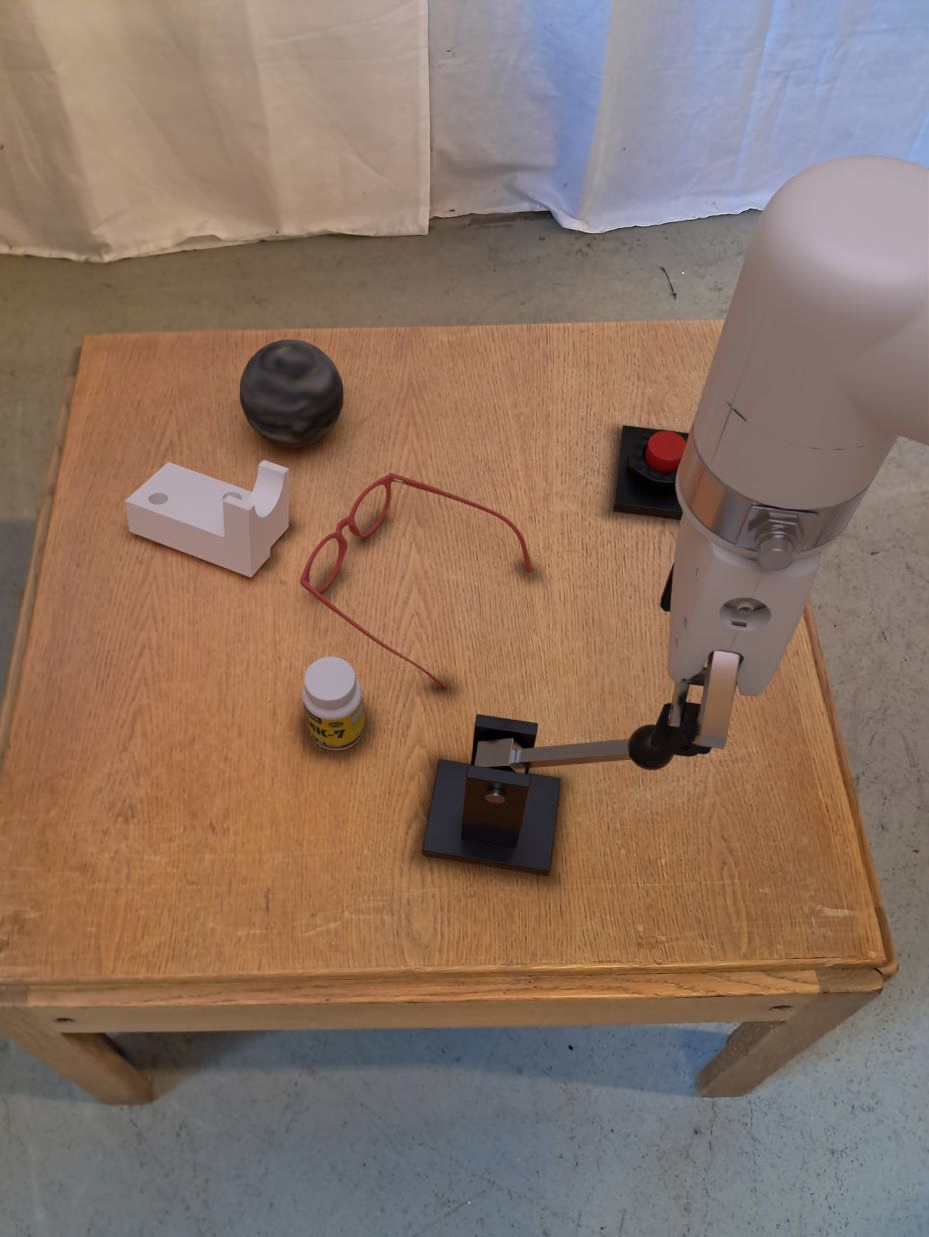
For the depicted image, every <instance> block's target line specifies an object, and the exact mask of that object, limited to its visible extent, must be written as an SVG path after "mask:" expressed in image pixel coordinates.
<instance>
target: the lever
mask: <svg viewBox="0 0 929 1237" xmlns="http://www.w3.org/2000/svg"><path fill="white" fill-rule="evenodd" d="M655 725H656V724H654V723H653V724H652V723H651V724H644V725H641V726H640V727H637V728H636V729H635V730H634V731H633V732H632V734H630V736H629V738H622V739H621V738H620V739H611V740H601V741H600V740H599V741H589V742H579V743H569V744H557V745H546V746H537V747H536V746H534V748H525V749H523V748H522V747H521V746H520V745H519V743H518V742H517V741H516V740H515V739H514V738H506V739H496V740H486V741H479V742H478V747H477V753H476V759H475V765H474V766H480V767H487V768H493V769H499V770H506V771H512V772H519V773H525V769H526V768H530V769H538V768H548V767H549V768H551V767H562V766H572V765H573V766H574V765H586V764H597V763H609V762H611V763H612V762H621V761H632V762H633V763H634V764H635V765H636V766H637V767H638V768H641V769H643V770H646V771H659V770H661V769H663V768H665V767H666V766H668V765H669V764H670V763H671V761H673V758H674V756H675V755H674V754H671V753H670V752H669V751H668V749H663V748H656V747H653V746H651V744H650V742H651V734H652V732H653V729H654V727H655Z"/></svg>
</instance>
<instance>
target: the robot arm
mask: <svg viewBox="0 0 929 1237" xmlns="http://www.w3.org/2000/svg"><path fill="white" fill-rule="evenodd" d="M688 433H689V436H688V439H687V442H686V446H685V449H684V452H683V455H682V458H681V461H680V464H679V467H678V471H677V475H676V492H677V498H678V501H679V504H680V506H681V508H682V511H683V514H682V518H681V520H680V521H679V526H678V531H677V536H676V542H675V549H674V560H673V562H672V565H671V568H670V570H669V574H668V577H667V579H666V582H665V585H664V587H663V590H662V593H661V596H660V602H659V607H660V609H662V611H663V612H667V613H669V627H668V628H669V630H668V648H667V673H668V676H669V678H670V679H671V680H672V681H673V682H674V689H673V693H672V697H671V701H670V702H667V703H664V704H663V705H662V708H661V710H660V713H659V715H658V717H657V720H656V722H655V724H654V725H655V727H654V729H653V732H652V734H651V742H650V744H651V746H653V747H656V748H663V749H668V751H669V752H670V753H671V754H674V756H679V757H687V758H690V757H691V758H692V757H696V756H698V755H708V754H710V752H711V751H712V749H719V750H724V749H725V747H726V745H727V740H728V734H729V727H730V722H731V716H732V709H733V704H734V699H735V693H736V690H737V688H738V692H739V695H740V696H743V697H758V696H760V695H762V694H763V693H764V692H765V690H766V689H767V688H768V686H769V685H770V683H771V681H772V679H773V677H774V676H775V674H776V672H777V670H778V667H779V665H780V664H781V662H782V660H783V657H784V655H785V653H786V651H787V649H788V647H789V645H790V643H791V641H792V638H793V636H794V634H795V631H796V630H797V628H798V626H799V623H800V621H801V619H802V616H803V614H804V611H805V608H806V606H807V603H808V600H809V598H810V595H811V592H812V589H813V586H814V582H815V579H816V576H817V572H818V568H819V565H820V560H821V557H822V551H824V550H826V549H828V548H829V547H831V546H832V545H833V544H834V543H835V542H837V541H838V540H839V538H840V537H841V536H842V535H843V534H844V532H845V530H846V529H847V527H848V525H849V523H850V522H851V520H852V519H853V517H854V515H855V513H856V511H857V510H858V508H859V506H860V504H861V503H862V501H863V500H864V498H865V496H866V494H867V493H868V490H869V489H870V487H871V485H872V483H873V482H874V480H875V478H876V476H877V475H878V473H879V471H880V469H881V467H882V466H883V464H884V463H885V461H886V459H887V457H888V456H889V454H890V452H891V450H892V449H893V447H894V445H895V443H896V442H897V440H898V438H899V437H902V438H905V439H907V440H911V441H913V442H917V443H920V444H922V445H925V446H928V447H929V167H927V166H924V165H922V164H919V163H917V162H913V161H909V160H906V159H902V158H897V157H890V156H885V155H869V154H867V155H865V154H864V155H849V156H843V157H838V158H833V159H829V160H826V161H822V162H818V163H816V164H814V165H811V166H809V167H807V168H805V169H803V170H801V171H800V172H799V173H796V174H795V175H793V176H792V177H791V178H790V179H788V180H786V181H785V183H783V184H782V185H781V186H780V187H779V188H778V189H777V191H775V192H774V194H773V195H772V196H771V198H770V199H769V201H768V202H767V203H766V205H765V206H764V208H763V210H762V212H761V213H760V215H759V217H758V219H757V222H756V224H755V228H754V230H753V232H752V234H751V237H750V241H749V243H748V246H747V249H746V252H745V255H744V258H743V262H742V265H741V269H740V271H739V275H738V277H737V282H736V284H735V287H734V291H733V294H732V297H731V300H730V304H729V306H728V309H727V313H726V316H725V319H724V323H723V325H722V329H721V332H720V335H719V337H718V341H717V345H716V347H715V351H714V354H713V357H712V361H711V364H710V367H709V370H708V373H707V377H706V379H705V382H704V386H703V389H702V392H701V395H700V399H699V401H698V404H697V408H696V411H695V415H694V417H693V421H692V423H691V427H690V429H689V432H688ZM705 665H706V666H705ZM690 685H691V686H697V687H698V686H699V687H703V688H702V695H701V701H700V703H698V702H691V701H687V699H688V695H689V691H690Z"/></svg>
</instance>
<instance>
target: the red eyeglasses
mask: <svg viewBox="0 0 929 1237" xmlns="http://www.w3.org/2000/svg"><path fill="white" fill-rule="evenodd" d="M392 483H398V484H402V485H405V486H408V487H412V488H415V489H418V490H422V491H425V492H428V493H431V494H435V495H439V496H442V497H445V498H447V499H448V498H449V499H450V500H453V501H456V502H459V503H462V504H464V505H467V506H470V507H473V508H475V509H478V510H480V511H483V512H485V513H487V514H490V515H492V516H493V517H496V518H498V519H500V520H501V521H503V522H504V523H505V524H507V526H509V528H511V530H512V532H514V534H515V535H516V537H517V539H518V541H519V544H520V547H521V552H522V557H523V558H522V559H523V564H524V568H525V570H526V572H529V573H531V572H532V571H533V569H532V564H531V559H530V555H529V550H528V547H527V544H526V541H525V539H524V537H523V536H524V535H523V534H522V533H521V531H520V530H519V529H518V527H517V526H516V525H515V524H514V523H513V522H512V521H511V520H510V519H509V518H507V516H504V515H503V514H501V513H500V512H498V511H496V510H494V509H491V508H489V507H486V506H484V505H481V504H479V503H478V502H474V501H472V500H469V499H466V498H463V497H461V496H458V495H456V494H452V493H450V492H448V491H444V490H442V489H439V488H437V487H435V486H432V485H430V484H427V483H424V482H421V481H418V480H415V479H411V478H408V477H406V476H404V475H400V474H396V473H393V472H389V473H388V474H386V475H385V476H383V477H381V478H380V479H377V480H376V481H375V482H372V484H370V485H369V486H368V487H367V488H365V490H364V491H362V493H360V495H359V496H358V497H357V498H356V500H355V502H354V504H353V506H352V507H351V510H350V513H349V515H348V516H346V517H344V518H343V519H341V520H340V521H339V522H337V525H336V527H335V531H334V532H332V533H329V534H328V535H326V536H325V537H323V539H322V540H320V542H319V543H318V544H317V545H316V547H315V548H314V550H313V551H312V553H311V555H310V556H309V558H308V560H307V562H306V564H305V566H304V569H303V572H302V573H301V575H300V578H299V583H300V585H301V587H302V588H304V589H305V590H306V591H308V592H309V593H310V594H311V595H312V596H314V597H315V598H316V599H317V600H318V601H320V602H321V603H322V604H324V606H325V607H327V608H328V609H329V610H331V611H332V612H334V614H336V615H337V616H339V617H340V618H342V619H344V620H345V621H346V622H347V623H348V624H349V625H351V626H353V628H355V629H356V630H358V631H359V632H361V633H362V634H363V635H364V636H366V637H367V638H369V639H370V640H372V641H373V642H374V643H376V644H378V645H379V646H381V647H382V648H383V649H386V650H387V651H389V652H391V653H392V654H394V655H396V656H397V657H399V658H400V659H403V660H404V661H406V662H407V663H408V662H409V663H410V664H411V665H413V666H414V667H416V668H418V669H419V670H421V671H422V672H423V673H425V674H426V675H427V676H428V677H429V678H430V679H432V680H433V681H434V682H435V683H437V684H438V685H439V686H441V687H443V688H444V689H448V688H449V686H447V685H446V684H445V683H443V682H442V681H441V680H439V679H438V678H437V677H436V676H434V675H433V674H432V673H430V671H428V670H426V669H425V668H424V667H422V666H421V665H419V664H418V663H416V662H415V661H413V660H411V659H410V658H408V657H407V656H405V655H403V654H401V653H400V652H399V651H397V650H395V649H393V648H392V647H390V646H389V645H387V644H386V643H384V642H383V641H381V640H380V639H378V638H377V637H376V636H374V635H373V634H371V633H370V632H369V631H367V630H366V629H365V628H364V627H362V625H360V624H359V623H357V622H355V621H354V620H353V619H351V618H350V617H349V616H348V615H347V614H345V612H343V611H341V610H340V609H339V608H338V607H336V605H334V603H332V602H331V601H330V600H328V599H327V598H326V597H325V596H323V595H322V593H323V592H325V591H326V590H327V589H328V588H329V587H330V586H331V584H332V583H333V581H334V580H335V578H336V576H337V574H338V572H339V570H340V568H341V566H342V564H343V561H344V559H345V556H346V552H347V550H348V541H347V539H346V537H345V536H344V534H343V530H344V528H345V527H347V526H348V530H349V531H350V533H351V534H352V535H353V536H355V537H358V538H367V537H369V536H370V535H372V534H373V533H374V532H375V531H376V530H377V529H378V528H379V526H380V525H381V524H382V522H383V521H384V519H385V517H386V515H387V513H388V511H389V508H390V503H391V499H392ZM379 486H383V487H384V488H385V492H386V494H385V503H384V505H383V508H382V511H381V513H380V516H379V517H378V519H377V520H376V522H375V523H374V524H373V526H371V528H370V529H369V530H367V531H366V532H364V533H361V532H360V530H359V528H358V526H357V523H356V520H355V516H356V513H357V510H358V508H359V507H360V506H359V505H361V503H362V501H363V499H364V498H365V497H366V496H367V495H368V494H369V493H370V492H371V491H372V490H374V489H375V488H377V487H379ZM333 539H335V541H337V545H338V554H337V558H336V559H337V560H336V563H335V566H334V568H333V571H332V573H331V575H330V577H329V578H328V580H327V581H326V582H325V584H324V585H323V586H322V587H320V588H318V589H316V588H314V587H313V585H312V583H311V580H310V576H311V574H310V573H311V568H312V565H313V563H314V561H315V558H316V557H317V555H318V553H319V552H320V551H321V549H322V548H323V547H324V546H325V545H326V543H327V542H329V541H331V540H333Z"/></svg>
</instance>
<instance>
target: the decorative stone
mask: <svg viewBox="0 0 929 1237" xmlns="http://www.w3.org/2000/svg"><path fill="white" fill-rule="evenodd" d="M340 374H341V373H340V372H339V370H338V369H337V366H336V364H335V363H334V361H333V360H332V358H331V357H329V355H328V354H326V353H325V351H323V350H321V348H319V347H318V346H316V345H314V344H312V343H309V342H307V341H305V340H299V339H294V338H292V339H280V340H275V341H273V342H269V343H268V344H266V345H264V346H262V347H260V349H258V350H257V351H256V352H255V353H254V355H252V356H251V357H250V358H249V360H248V361H247V363H246V365H245V367H244V369H243V372H242V374H241V377H240V380H239V381H240V382H239V402H240V406H241V409H242V411H243V414H244V416H245V418H246V421H247V422H248V424H249V426H250V427H251V428H252V429H253V430H254V431H255V432H256V433H257V434H258V435H259V436H261V438H263V439H264V440H266V441H268V442H270V443H272V444H274V445H276V446H281V447H287V448H301V447H306V446H309V445H313V444H314V443H316V442H318V441H320V440H321V439H323V438H325V437H326V436H327V435H328V433H329V432H330V431H331V430H332V429H333V428H334V427H335V425H337V422H338V420H339V418H340V415H341V413H342V410H343V406H344V382H343V379H342V376H341V375H340Z"/></svg>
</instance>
